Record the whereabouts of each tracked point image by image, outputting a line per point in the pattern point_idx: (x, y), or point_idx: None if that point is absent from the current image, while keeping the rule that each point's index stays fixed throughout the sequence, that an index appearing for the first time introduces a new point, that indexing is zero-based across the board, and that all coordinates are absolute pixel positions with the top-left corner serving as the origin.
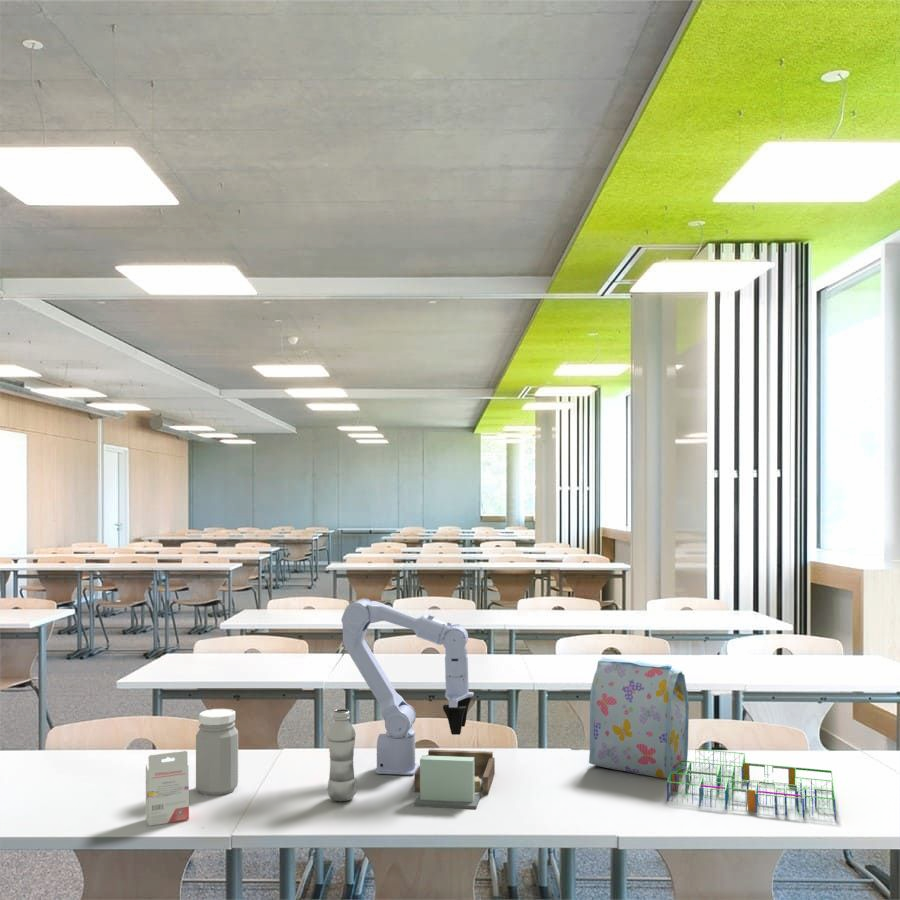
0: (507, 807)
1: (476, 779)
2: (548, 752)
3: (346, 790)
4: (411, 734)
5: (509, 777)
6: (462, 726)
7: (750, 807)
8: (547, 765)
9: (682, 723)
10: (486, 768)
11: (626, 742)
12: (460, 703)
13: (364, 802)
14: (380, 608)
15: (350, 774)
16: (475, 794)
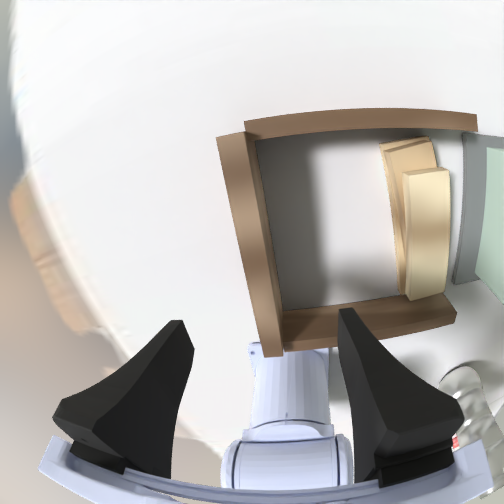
0: (497, 68)
1: (416, 155)
2: (30, 76)
3: (479, 377)
4: (310, 426)
5: (270, 67)
6: (184, 328)
7: None
8: (117, 17)
9: None
10: (398, 125)
11: None
12: (144, 435)
13: (471, 347)
14: None
15: (482, 395)
16: (470, 146)
